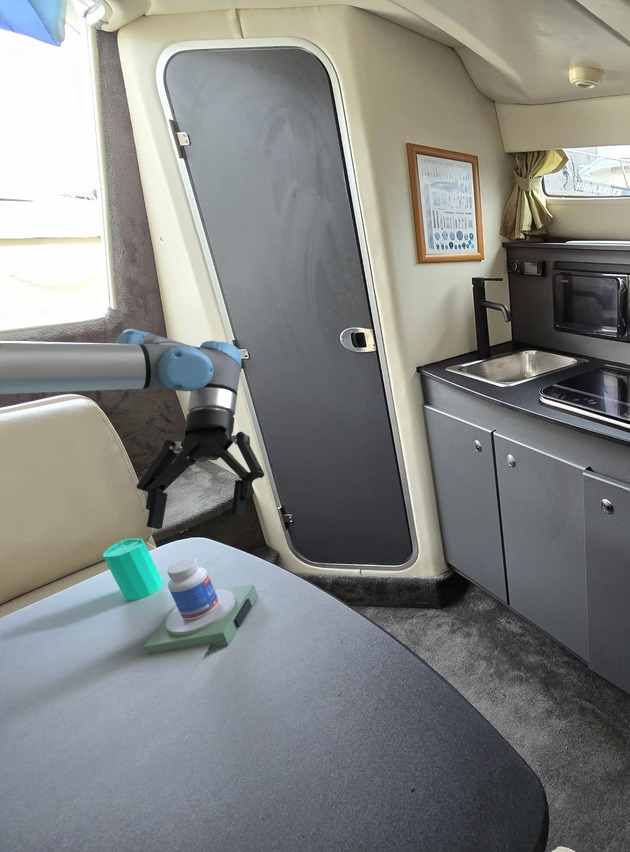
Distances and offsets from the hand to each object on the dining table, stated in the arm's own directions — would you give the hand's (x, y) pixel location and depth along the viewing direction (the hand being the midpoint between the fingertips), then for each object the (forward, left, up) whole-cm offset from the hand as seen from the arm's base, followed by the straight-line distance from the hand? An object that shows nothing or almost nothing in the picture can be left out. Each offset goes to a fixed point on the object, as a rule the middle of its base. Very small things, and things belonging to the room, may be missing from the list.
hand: (196, 521), depth 90 cm
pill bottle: (0, -7, -14) cm, 16 cm away
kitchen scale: (0, -7, -17) cm, 19 cm away
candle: (-18, +7, -18) cm, 26 cm away
